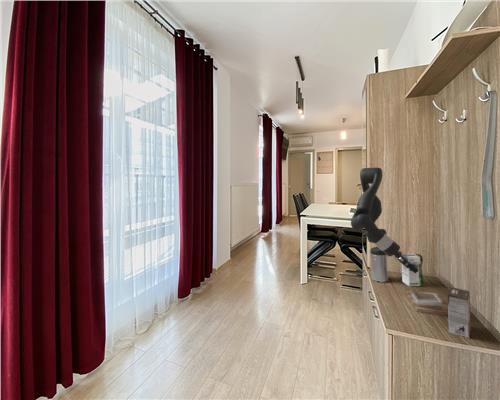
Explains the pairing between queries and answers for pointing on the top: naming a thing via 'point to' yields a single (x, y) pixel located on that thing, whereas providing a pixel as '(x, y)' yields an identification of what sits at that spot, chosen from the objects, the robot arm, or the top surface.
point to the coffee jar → (421, 268)
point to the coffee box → (459, 312)
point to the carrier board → (428, 309)
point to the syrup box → (410, 276)
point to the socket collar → (426, 303)
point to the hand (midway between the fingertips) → (414, 269)
